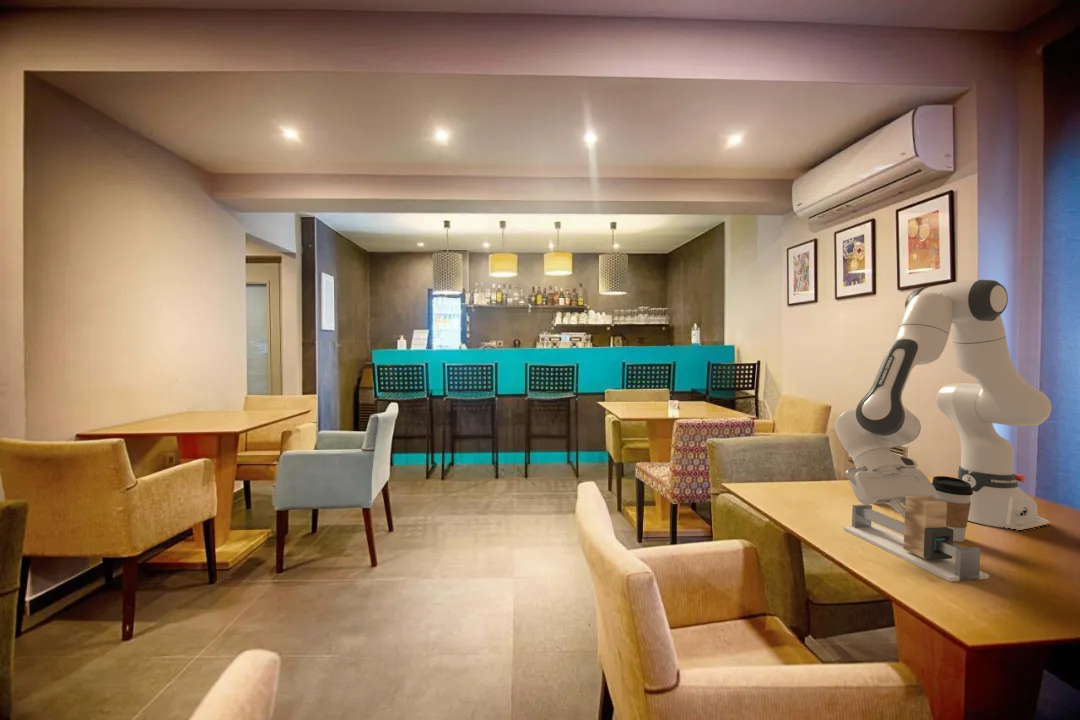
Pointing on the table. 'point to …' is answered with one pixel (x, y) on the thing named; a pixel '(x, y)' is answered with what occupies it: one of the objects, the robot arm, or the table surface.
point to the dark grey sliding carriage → (930, 542)
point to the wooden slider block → (922, 520)
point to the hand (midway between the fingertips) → (912, 518)
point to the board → (896, 547)
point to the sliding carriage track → (965, 556)
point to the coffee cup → (954, 503)
